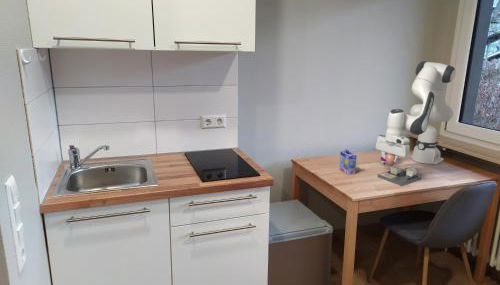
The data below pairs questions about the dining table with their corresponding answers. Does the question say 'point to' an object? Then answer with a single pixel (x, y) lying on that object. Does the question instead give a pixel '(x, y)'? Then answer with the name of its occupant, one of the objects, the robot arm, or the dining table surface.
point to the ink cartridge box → (347, 162)
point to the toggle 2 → (411, 171)
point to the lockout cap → (390, 159)
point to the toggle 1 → (395, 170)
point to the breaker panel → (399, 177)
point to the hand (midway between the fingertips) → (390, 160)
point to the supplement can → (383, 160)
